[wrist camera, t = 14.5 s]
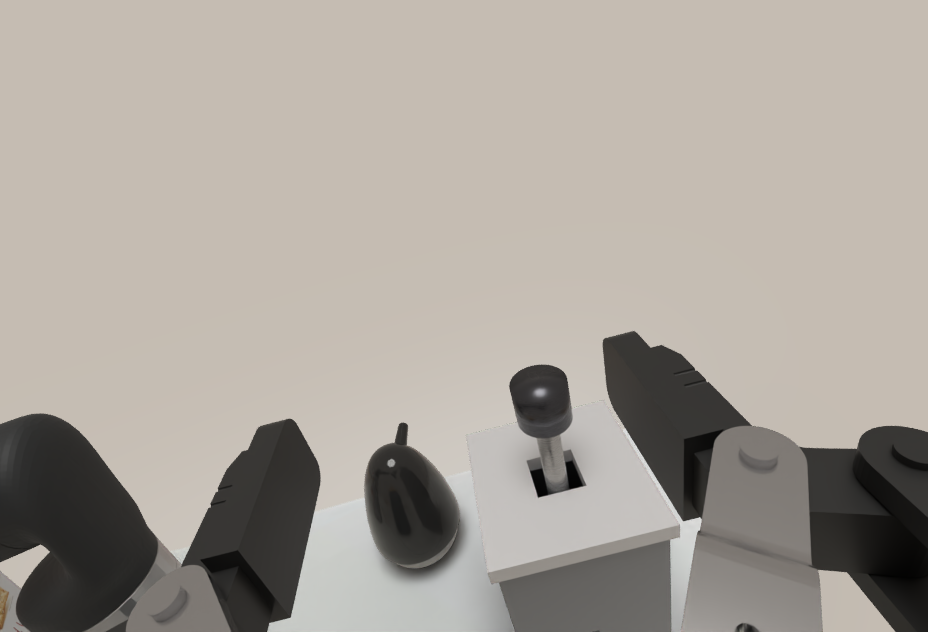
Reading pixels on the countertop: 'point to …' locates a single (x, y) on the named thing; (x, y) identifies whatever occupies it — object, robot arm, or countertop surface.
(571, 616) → the press
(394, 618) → the countertop surface
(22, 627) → the cracker box
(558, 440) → the plunger
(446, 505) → the black egg-shaped dispenser
